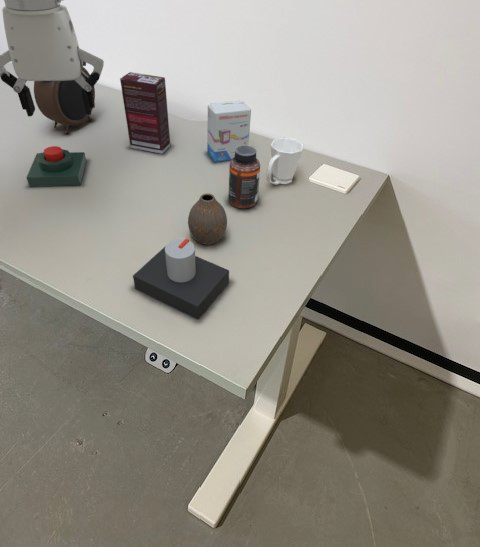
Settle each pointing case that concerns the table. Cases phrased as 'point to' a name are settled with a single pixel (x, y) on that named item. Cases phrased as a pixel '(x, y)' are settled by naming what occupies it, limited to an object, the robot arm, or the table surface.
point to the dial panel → (182, 285)
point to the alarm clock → (62, 101)
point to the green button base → (57, 170)
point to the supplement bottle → (244, 177)
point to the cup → (284, 160)
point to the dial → (180, 260)
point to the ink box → (227, 129)
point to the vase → (207, 220)
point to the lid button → (53, 153)
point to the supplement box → (146, 111)
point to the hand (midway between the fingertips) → (60, 112)
